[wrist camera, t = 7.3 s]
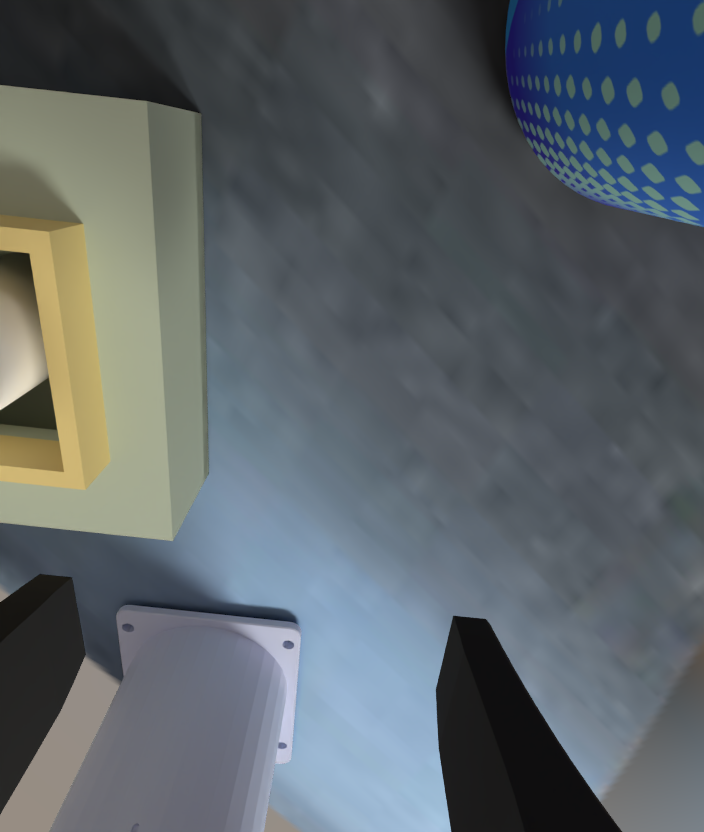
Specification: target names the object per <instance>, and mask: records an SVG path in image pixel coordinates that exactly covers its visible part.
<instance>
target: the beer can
mask: <svg viewBox="0 0 704 832" xmlns="http://www.w3.org/2000/svg"><path fill="white" fill-rule="evenodd" d="M505 57H506V72H507V79H508V86H509V92H510V96H511V100H512V104H513V108H514V111H515V114H516V117H517V119H518V122H519V125H520V127H521V129H522V131H523V133H524V135H525V138H526V139H527V141H528V143H529V144H530V146H531V148H532V149H533V151H534V152H535V154H536V155H537V156H538V158H539V159H540V160H541V162H542V163H543V164H544V165H545V166H546V167H547V169H548V170H549V171H550V172H551V173H552V174H553V175H554V176H555V177H557V178H558V179H559V180H560V181H561V182H563V183H564V184H565V185H566V186H568V187H569V188H571V189H573V190H574V191H576V192H577V193H579V194H581V195H583V196H585V197H587V198H589V199H591V200H594V201H597V202H599V203H602V204H605V205H609V206H613V207H617V208H622V209H626V210H631V211H635V212H640V213H644V214H648V215H653V216H657V217H662V218H666V219H671V220H675V221H679V222H684V223H688V224H693V225H697V226H702V227H704V0H510V3H509V8H508V16H507V25H506V42H505Z"/></svg>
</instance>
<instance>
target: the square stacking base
mask: <svg viewBox="0 0 704 832" xmlns="http://www.w3.org/2000/svg"><path fill="white" fill-rule="evenodd" d="M13 252H22V253H29V254H30V260H31V267H32V273H33V279H34V286H35V292H36V298H37V304H38V311H39V317H40V323H41V329H42V336H43V342H44V348H45V355H46V361H47V367H48V373H49V378H48V379H46V380H45V381H43V382H42V383H40V384H39V385H37V386H36V387H34V388H33V389H31V390H30V391H28V392H27V393H25V394H24V395H22V396H21V397H19V398H18V399H16V400H15V401H13V402H12V403H10V404H9V405H7V406H6V407H4V408H3V409H1V410H0V523H9V524H18V525H28V526H37V527H47V528H56V529H65V530H75V531H84V532H94V533H103V534H112V535H122V536H131V537H140V538H150V539H159V540H169V541H173V540H174V538H175V536H176V534H177V532H178V530H179V529H180V527H181V525H182V523H183V521H184V519H185V517H186V515H187V513H188V512H189V510H190V508H191V506H192V504H193V502H194V500H195V498H196V496H197V495H198V493H199V491H200V489H201V487H202V485H203V483H204V481H205V479H206V478H207V476H208V474H209V458H208V411H207V363H206V316H205V269H204V221H203V174H202V127H201V113H197V112H192V111H188V110H183V109H179V108H175V107H170V106H166V105H162V104H157V103H153V102H148V101H141V100H132V99H123V98H114V97H105V96H96V95H87V94H77V93H68V92H59V91H50V90H41V89H32V88H23V87H14V86H5V85H0V256H1V255H5V254H9V253H13Z"/></svg>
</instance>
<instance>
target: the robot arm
mask: <svg viewBox="0 0 704 832" xmlns="http://www.w3.org/2000/svg"><path fill="white" fill-rule="evenodd" d="M116 621H117V629H118V637H119V645H120V653H121V660H122V668H123V676H124V678H123V680H122V682H121V684H120V686H119V689H118V691H117V693H116V695H115V697H114V699H113V701H112V703H111V705H110V707H109V709H108V711H107V713H106V715H105V717H104V719H103V721H102V724H101V726H100V728H99V730H98V732H97V734H96V736H95V738H94V740H93V742H92V744H91V746H90V749H89V751H88V752H87V755H86V756H85V759H84V761H83V763H82V765H81V767H80V769H79V771H78V773H77V775H76V777H75V779H74V781H73V783H72V785H71V788H70V790H69V792H68V794H67V796H66V798H65V800H64V802H63V804H62V806H61V808H60V810H59V812H58V814H57V816H56V818H55V821H54V823H53V824H52V827H51V829H50V831H49V832H264V827H265V821H266V815H267V809H268V803H269V797H270V791H271V785H272V779H273V773H274V767H275V763H278V764H285V763H287V762H289V761H290V759H291V755H292V744H293V731H294V719H295V706H296V694H297V681H298V668H299V656H300V643H301V628H300V627H299V625H297V624H296V623H293V622H287V621H278V620H268V619H259V618H249V617H240V616H230V615H221V614H212V613H202V612H193V611H183V610H174V609H164V608H155V607H146V606H136V605H124V606H122V607H121V608H120V609H119V611H118V613H117V614H116ZM130 624H131V625H130ZM288 641H292V642H288ZM85 655H86V653H85V648H84V642H83V637H82V631H81V625H80V620H79V614H78V608H77V603H76V597H75V592H74V586H73V580H72V577H63V576H53V575H43V574H39V575H38V576H37V577H35V578H34V579H32V580H31V581H29V582H28V583H26V584H25V585H24V586H22V587H21V588H19V589H18V590H17V591H15V592H14V593H12V594H11V595H10V596H8V597H7V598H6V599H4V600H3V601H1V602H0V814H1V812H2V810H3V809H4V807H5V805H6V804H7V802H8V800H9V799H10V797H11V795H12V793H13V792H14V790H15V788H16V787H17V785H18V783H19V782H20V780H21V778H22V776H23V775H24V773H25V771H26V770H27V768H28V766H29V764H30V763H31V761H32V759H33V758H34V756H35V754H36V752H37V751H38V749H39V747H40V746H41V744H42V742H43V741H44V739H45V737H46V735H47V733H48V732H49V730H50V728H51V727H52V725H53V723H54V721H55V719H56V718H57V716H58V714H59V713H60V711H61V709H62V707H63V704H64V702H65V700H66V698H67V696H68V694H69V691H70V689H71V687H72V685H73V683H74V680H75V678H76V676H77V673H78V671H79V669H80V666H81V664H82V662H83V659H84V657H85ZM436 701H437V724H438V741H439V752H440V759H441V766H442V773H443V779H444V786H445V793H446V799H447V806H448V812H449V819H450V826H451V832H622V831H621V830H620V828H619V827H618V826H617V824H616V823H615V822H614V820H613V819H612V818H611V816H610V815H609V814H608V812H607V811H606V809H605V808H604V807H603V805H602V804H601V802H600V801H599V800H598V798H597V797H596V796H595V794H594V793H593V791H592V790H591V788H590V787H589V786H588V784H587V783H586V781H585V780H584V778H583V777H582V775H581V774H580V773H579V771H578V770H577V768H576V767H575V765H574V764H573V762H572V761H571V759H570V758H569V756H568V755H567V753H566V752H565V750H564V749H563V747H562V746H561V744H560V743H559V741H558V740H557V738H556V737H555V735H554V733H553V732H552V730H551V729H550V727H549V725H548V724H547V722H546V721H545V719H544V718H543V716H542V714H541V713H540V711H539V710H538V708H537V706H536V705H535V703H534V701H533V700H532V698H531V696H530V695H529V693H528V691H527V690H526V688H525V686H524V685H523V683H522V681H521V679H520V678H519V676H518V674H517V673H516V671H515V669H514V667H513V666H512V664H511V662H510V660H509V658H508V657H507V655H506V653H505V651H504V649H503V648H502V646H501V644H500V642H499V640H498V638H497V636H496V635H495V633H494V631H493V629H492V627H491V625H490V624H489V622H488V621H487V620H486V619H480V618H470V617H460V616H453V620H452V624H451V628H450V632H449V636H448V641H447V645H446V649H445V653H444V658H443V662H442V666H441V670H440V675H439V679H438V683H437V687H436Z"/></svg>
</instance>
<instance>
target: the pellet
mask: <svg viewBox="0 0 704 832" xmlns="http://www.w3.org/2000/svg"><path fill="white" fill-rule="evenodd" d="M48 378H49V373H48V367H47V361H46V355H45V348H44V342H43V336H42V329H41V323H40V317H39V311H38V304H37V298H36V292H35V286H34V279H33V273H32V267H31V260H30V254H29V253H22V252H13V253H9V254H5V255H1V256H0V410H1V409H3V408H4V407H6V406H7V405H9V404H10V403H12V402H13V401H15V400H16V399H18V398H19V397H21V396H22V395H24V394H25V393H27V392H28V391H30V390H31V389H33V388H34V387H36V386H37V385H39V384H40V383H42V382H43V381H45V380H46V379H48Z"/></svg>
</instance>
